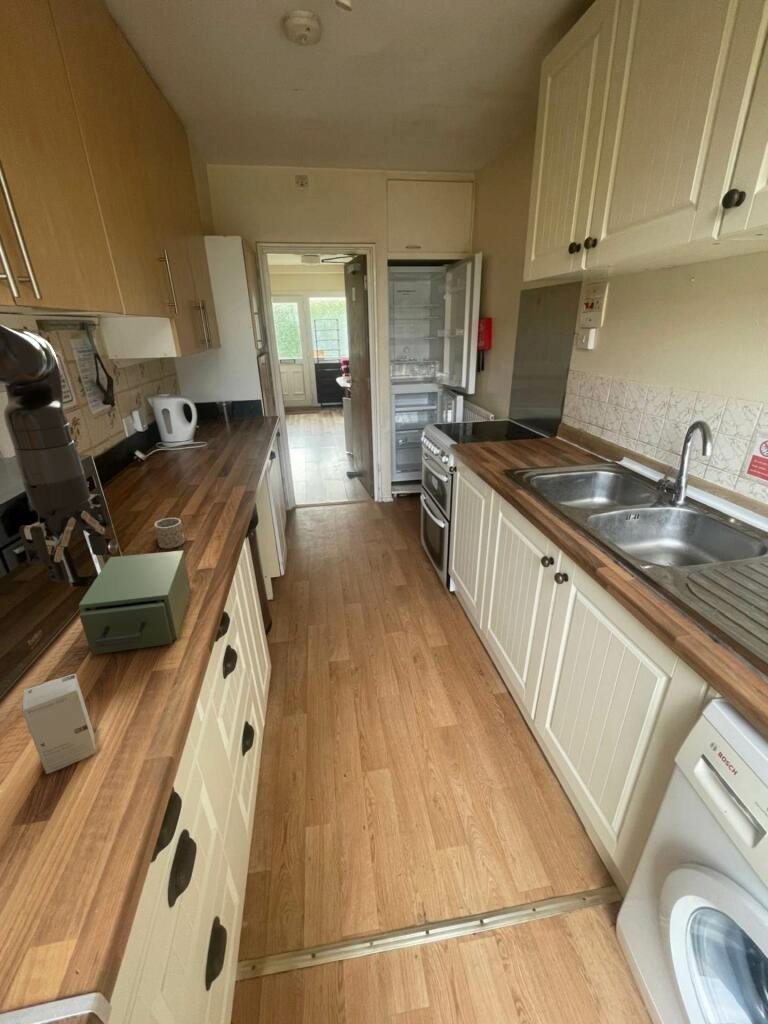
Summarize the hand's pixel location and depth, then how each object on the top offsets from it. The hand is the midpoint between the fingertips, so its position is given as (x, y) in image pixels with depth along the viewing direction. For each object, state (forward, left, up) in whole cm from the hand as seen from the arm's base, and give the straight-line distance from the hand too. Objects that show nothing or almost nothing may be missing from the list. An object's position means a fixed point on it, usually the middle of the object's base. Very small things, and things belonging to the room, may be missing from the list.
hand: (81, 567), depth 70 cm
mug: (-31, +38, -21) cm, 53 cm away
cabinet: (-6, +12, -21) cm, 25 cm away
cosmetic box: (+12, -14, -21) cm, 28 cm away
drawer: (-3, +8, -20) cm, 21 cm away
